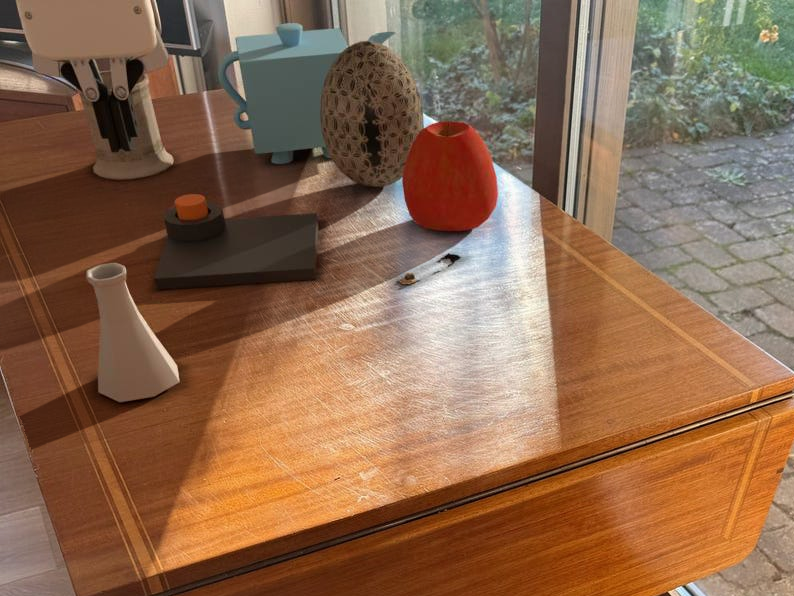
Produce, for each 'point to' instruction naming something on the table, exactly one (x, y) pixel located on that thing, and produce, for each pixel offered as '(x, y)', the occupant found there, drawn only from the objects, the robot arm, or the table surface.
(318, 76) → the teapot
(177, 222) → the scale
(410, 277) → the fossil
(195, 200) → the button
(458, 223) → the apple
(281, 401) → the table surface
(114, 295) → the flask
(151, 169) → the mug
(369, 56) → the decorative egg
